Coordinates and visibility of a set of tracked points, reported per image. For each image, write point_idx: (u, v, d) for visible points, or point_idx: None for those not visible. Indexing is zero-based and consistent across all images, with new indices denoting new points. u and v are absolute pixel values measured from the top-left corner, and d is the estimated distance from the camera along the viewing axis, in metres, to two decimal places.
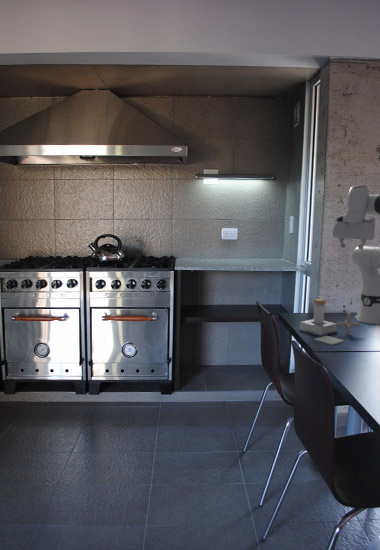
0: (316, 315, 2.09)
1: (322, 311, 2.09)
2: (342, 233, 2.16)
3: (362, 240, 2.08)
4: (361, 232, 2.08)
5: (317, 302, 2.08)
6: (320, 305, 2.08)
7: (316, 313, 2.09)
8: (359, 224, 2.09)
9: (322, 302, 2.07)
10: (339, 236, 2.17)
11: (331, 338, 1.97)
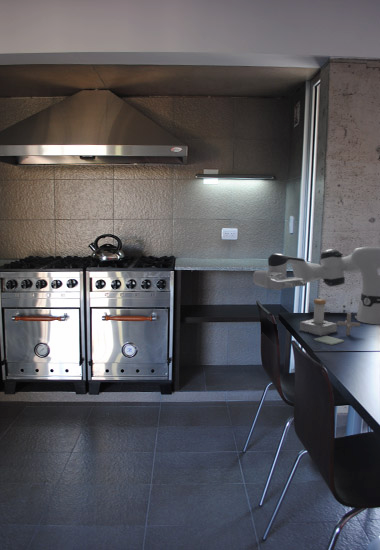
0: (316, 315, 2.09)
1: (322, 311, 2.09)
2: (282, 280, 2.21)
3: (300, 280, 2.26)
4: (294, 278, 2.28)
5: (317, 302, 2.08)
6: (320, 305, 2.08)
7: (316, 313, 2.09)
8: None
9: (322, 302, 2.07)
10: (282, 281, 2.19)
11: (331, 338, 1.97)
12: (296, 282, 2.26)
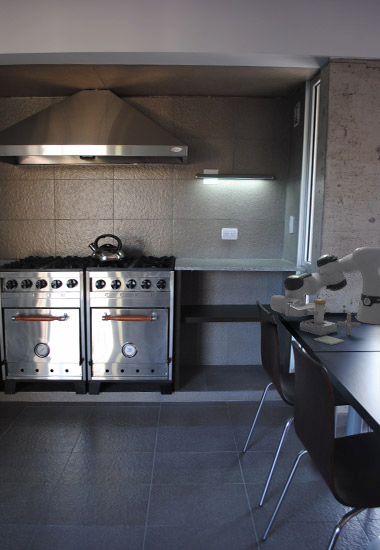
0: (316, 315, 2.09)
1: (322, 311, 2.09)
2: (302, 307, 2.12)
3: None
4: (314, 304, 2.19)
5: (317, 302, 2.08)
6: (320, 305, 2.08)
7: None
8: (306, 304, 2.21)
9: (322, 302, 2.07)
10: (303, 308, 2.10)
11: (331, 338, 1.97)
12: None
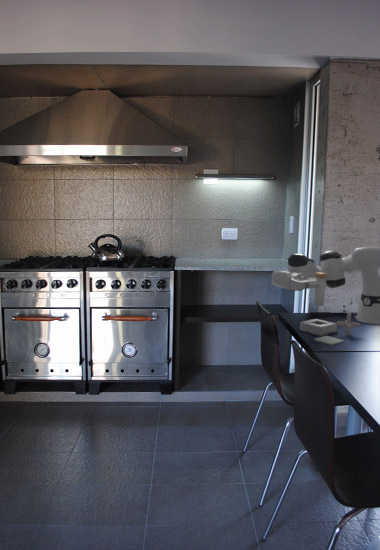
0: (317, 289, 2.07)
1: (323, 285, 2.06)
2: (304, 280, 2.10)
3: None
4: None
5: (318, 275, 2.05)
6: (321, 278, 2.06)
7: None
8: (307, 278, 2.19)
9: (324, 275, 2.05)
10: (304, 281, 2.08)
11: (331, 338, 1.97)
12: None
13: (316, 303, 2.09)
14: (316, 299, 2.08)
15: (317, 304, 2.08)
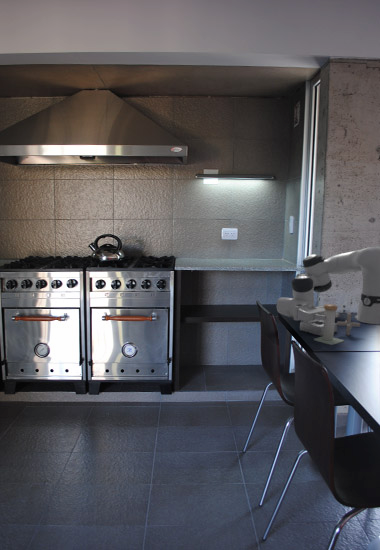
0: (326, 322, 1.93)
1: (333, 318, 1.93)
2: (312, 311, 1.96)
3: None
4: None
5: (327, 307, 1.92)
6: (331, 311, 1.92)
7: (326, 320, 1.93)
8: (315, 307, 2.04)
9: (333, 308, 1.92)
10: (313, 312, 1.94)
11: None
12: None
13: (325, 337, 1.94)
14: (325, 333, 1.94)
15: (326, 338, 1.94)
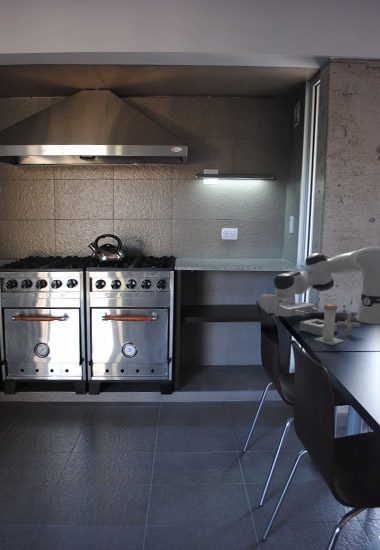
0: (326, 321, 1.94)
1: (333, 317, 1.93)
2: (292, 306, 2.04)
3: (311, 306, 2.08)
4: (304, 304, 2.11)
5: (327, 307, 1.93)
6: (331, 311, 1.93)
7: (326, 319, 1.94)
8: (296, 303, 2.13)
9: (333, 307, 1.92)
10: (293, 308, 2.02)
11: None
12: (307, 308, 2.08)
13: (325, 337, 1.94)
14: (325, 333, 1.94)
15: (326, 338, 1.94)
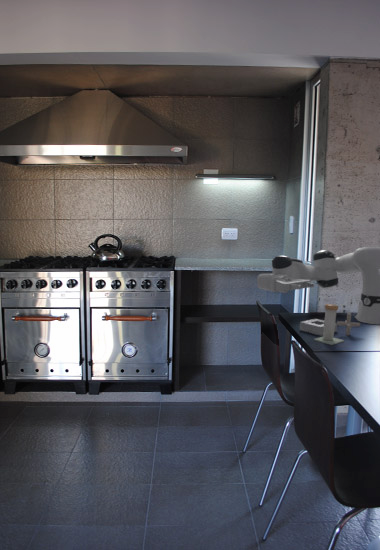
0: (327, 321, 1.94)
1: (333, 317, 1.93)
2: (289, 282, 2.10)
3: (307, 282, 2.15)
4: (300, 280, 2.17)
5: (328, 307, 1.92)
6: (332, 311, 1.92)
7: (327, 319, 1.94)
8: (292, 280, 2.19)
9: (334, 308, 1.92)
10: (289, 282, 2.08)
11: None
12: (303, 284, 2.15)
13: (325, 337, 1.94)
14: (325, 333, 1.94)
15: (326, 338, 1.94)
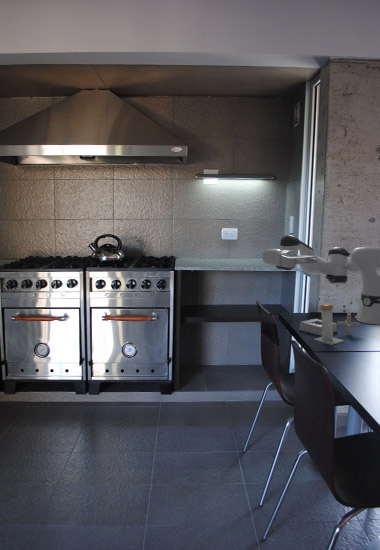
0: (324, 322, 1.94)
1: (330, 317, 1.93)
2: None
3: (311, 258, 2.24)
4: None
5: (323, 307, 1.92)
6: (327, 311, 1.92)
7: (324, 320, 1.94)
8: None
9: (329, 307, 1.92)
10: (294, 257, 2.17)
11: None
12: (307, 259, 2.24)
13: (324, 337, 1.94)
14: (324, 333, 1.94)
15: (325, 338, 1.94)
